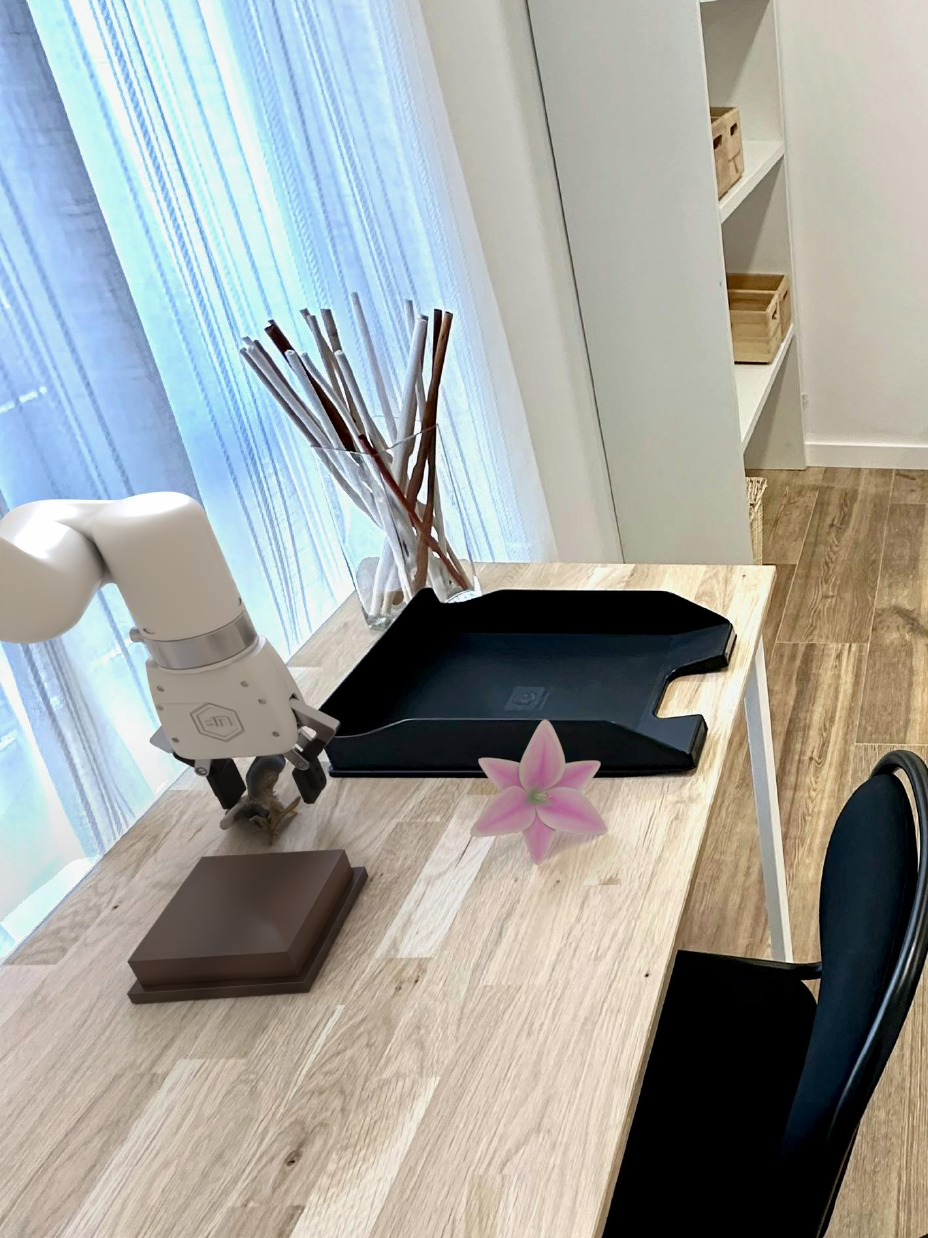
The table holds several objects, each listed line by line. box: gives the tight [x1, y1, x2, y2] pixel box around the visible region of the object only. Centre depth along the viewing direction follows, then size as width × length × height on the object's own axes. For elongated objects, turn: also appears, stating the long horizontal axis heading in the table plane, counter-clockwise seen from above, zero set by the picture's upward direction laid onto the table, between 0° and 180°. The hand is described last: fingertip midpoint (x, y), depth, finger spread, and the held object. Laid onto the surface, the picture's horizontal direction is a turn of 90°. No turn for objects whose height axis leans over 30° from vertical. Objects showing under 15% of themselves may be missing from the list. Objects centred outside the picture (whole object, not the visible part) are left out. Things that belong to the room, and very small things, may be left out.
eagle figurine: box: [218, 754, 302, 847], centre depth 101 cm, size 8×7×9 cm
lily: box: [469, 718, 608, 866], centre depth 101 cm, size 12×12×10 cm
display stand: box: [126, 848, 369, 1005], centre depth 90 cm, size 13×13×4 cm
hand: (275, 795), depth 102 cm, fingers closed on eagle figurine, 6 cm apart
